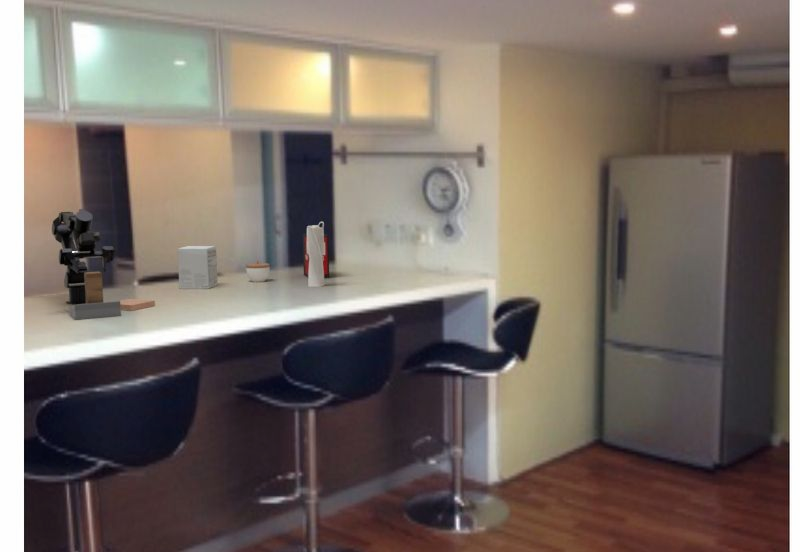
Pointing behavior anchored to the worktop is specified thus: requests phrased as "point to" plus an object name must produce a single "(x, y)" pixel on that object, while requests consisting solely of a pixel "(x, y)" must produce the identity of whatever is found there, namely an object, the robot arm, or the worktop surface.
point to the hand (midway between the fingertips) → (91, 271)
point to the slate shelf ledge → (95, 310)
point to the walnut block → (93, 287)
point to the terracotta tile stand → (135, 304)
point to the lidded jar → (258, 271)
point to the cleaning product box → (324, 257)
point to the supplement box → (197, 267)
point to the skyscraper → (315, 255)
